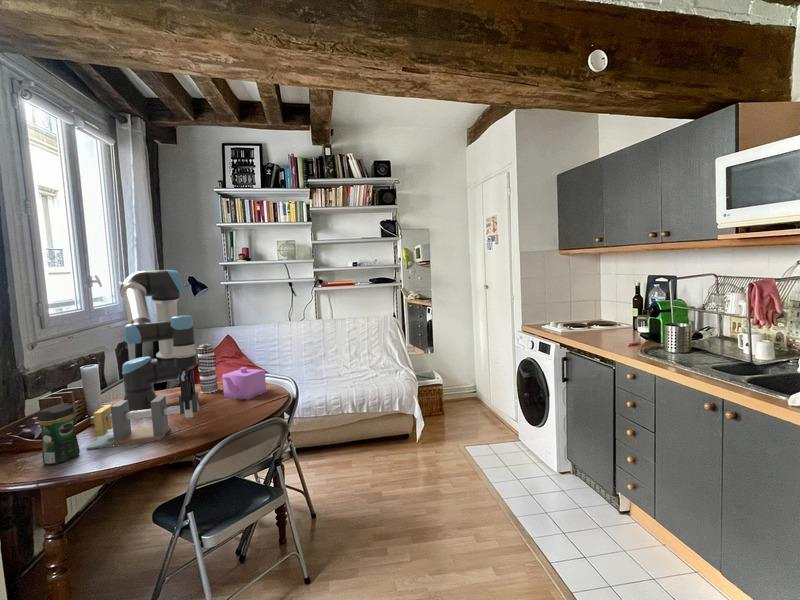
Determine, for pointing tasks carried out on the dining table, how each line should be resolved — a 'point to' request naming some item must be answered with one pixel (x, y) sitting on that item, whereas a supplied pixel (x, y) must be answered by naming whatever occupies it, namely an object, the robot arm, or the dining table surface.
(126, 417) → the shaft
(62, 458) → the coffee jar
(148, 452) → the dining table surface
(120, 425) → the bracket
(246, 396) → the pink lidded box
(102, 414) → the spacer
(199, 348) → the decorative candle
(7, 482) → the dining table surface
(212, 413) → the dining table surface
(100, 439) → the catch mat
